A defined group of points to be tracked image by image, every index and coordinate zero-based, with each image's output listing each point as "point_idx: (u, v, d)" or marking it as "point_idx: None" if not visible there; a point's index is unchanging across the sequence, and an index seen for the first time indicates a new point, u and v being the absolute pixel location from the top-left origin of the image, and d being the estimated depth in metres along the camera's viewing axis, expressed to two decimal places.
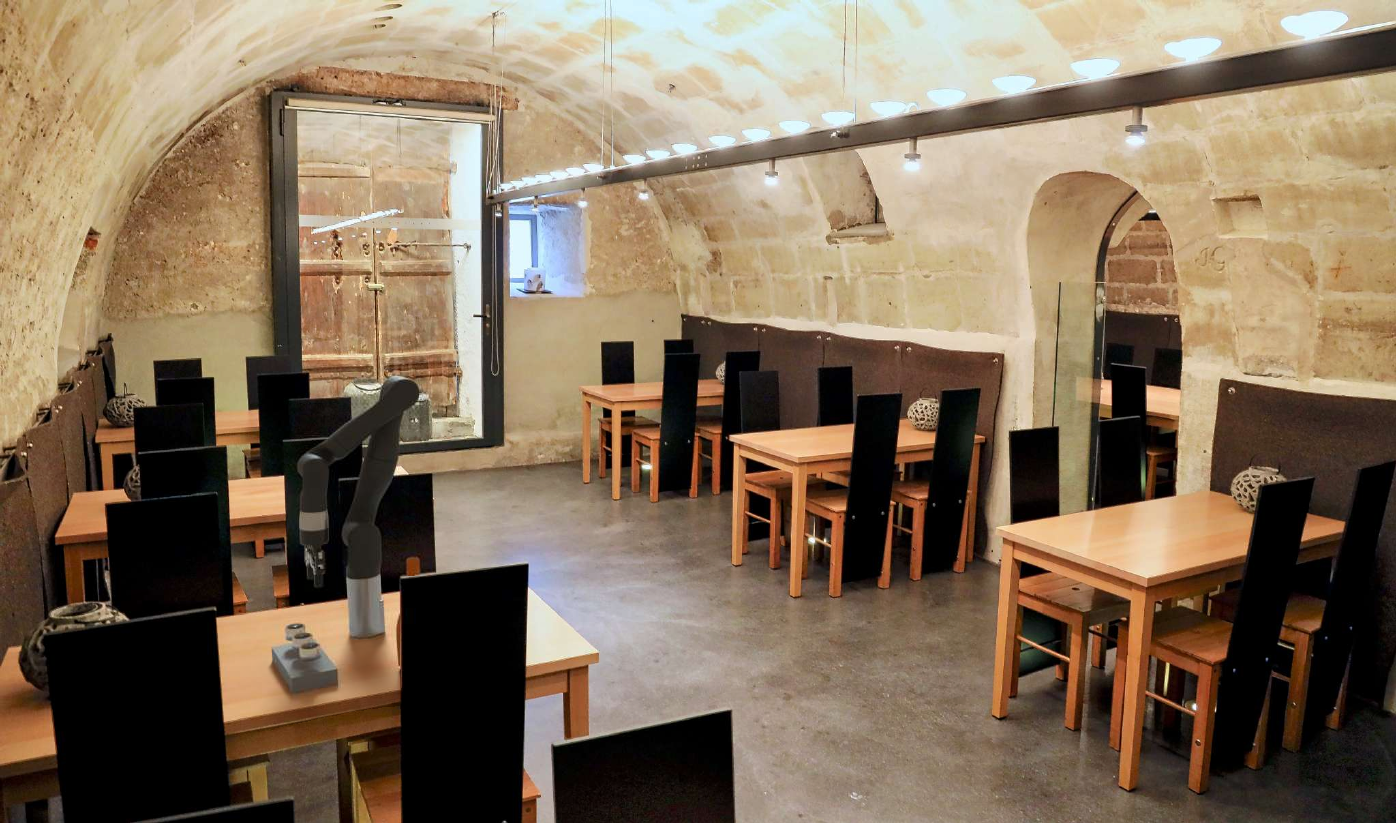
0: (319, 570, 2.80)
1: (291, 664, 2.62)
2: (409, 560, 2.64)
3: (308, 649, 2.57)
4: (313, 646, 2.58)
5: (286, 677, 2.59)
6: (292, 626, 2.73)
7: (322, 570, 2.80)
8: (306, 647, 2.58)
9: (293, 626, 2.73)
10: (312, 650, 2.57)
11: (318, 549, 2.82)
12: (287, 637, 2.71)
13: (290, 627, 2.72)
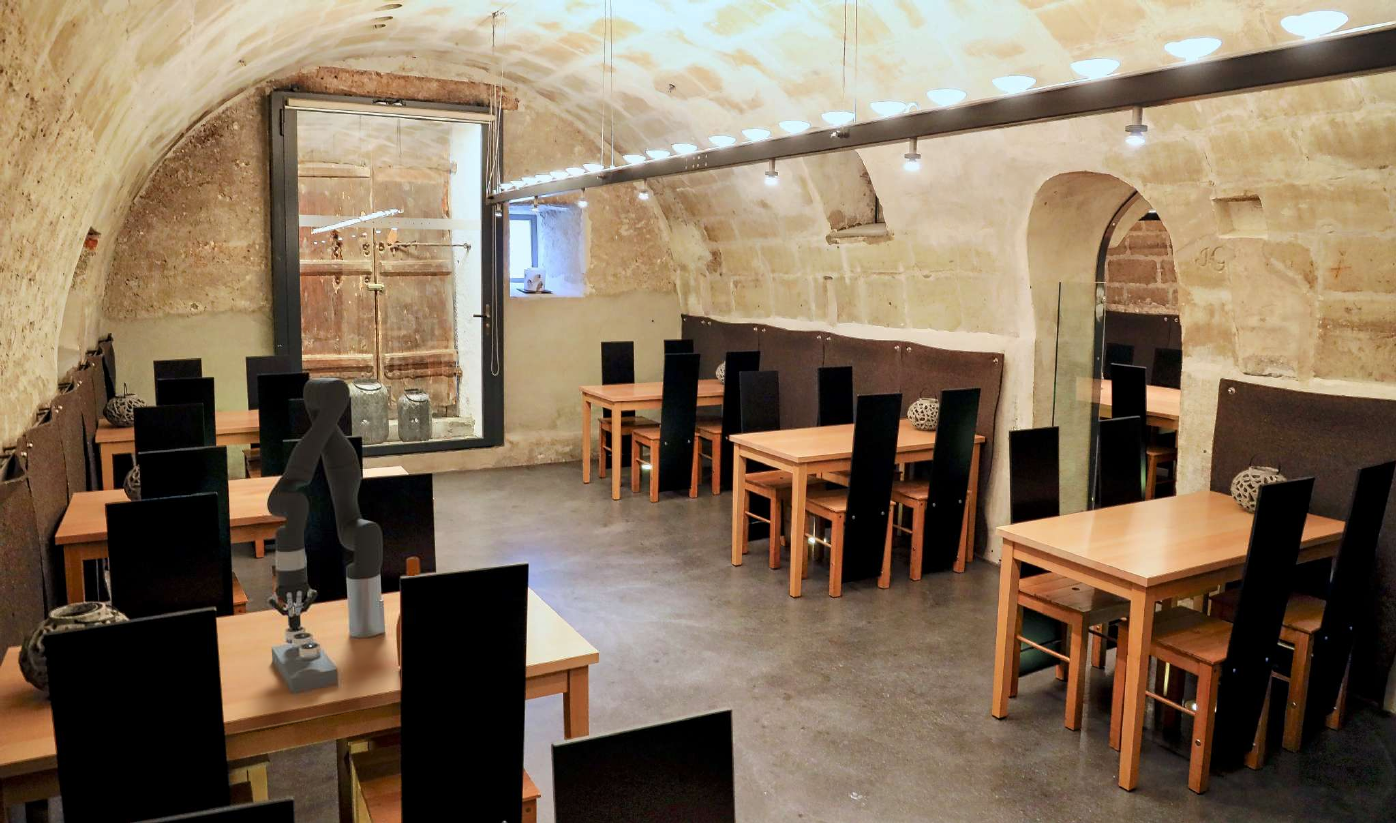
0: None
1: (291, 664, 2.62)
2: (409, 560, 2.64)
3: (308, 649, 2.57)
4: (313, 646, 2.58)
5: (286, 677, 2.59)
6: None
7: None
8: (306, 647, 2.58)
9: None
10: (312, 650, 2.57)
11: (308, 586, 2.74)
12: (287, 640, 2.71)
13: (291, 630, 2.72)
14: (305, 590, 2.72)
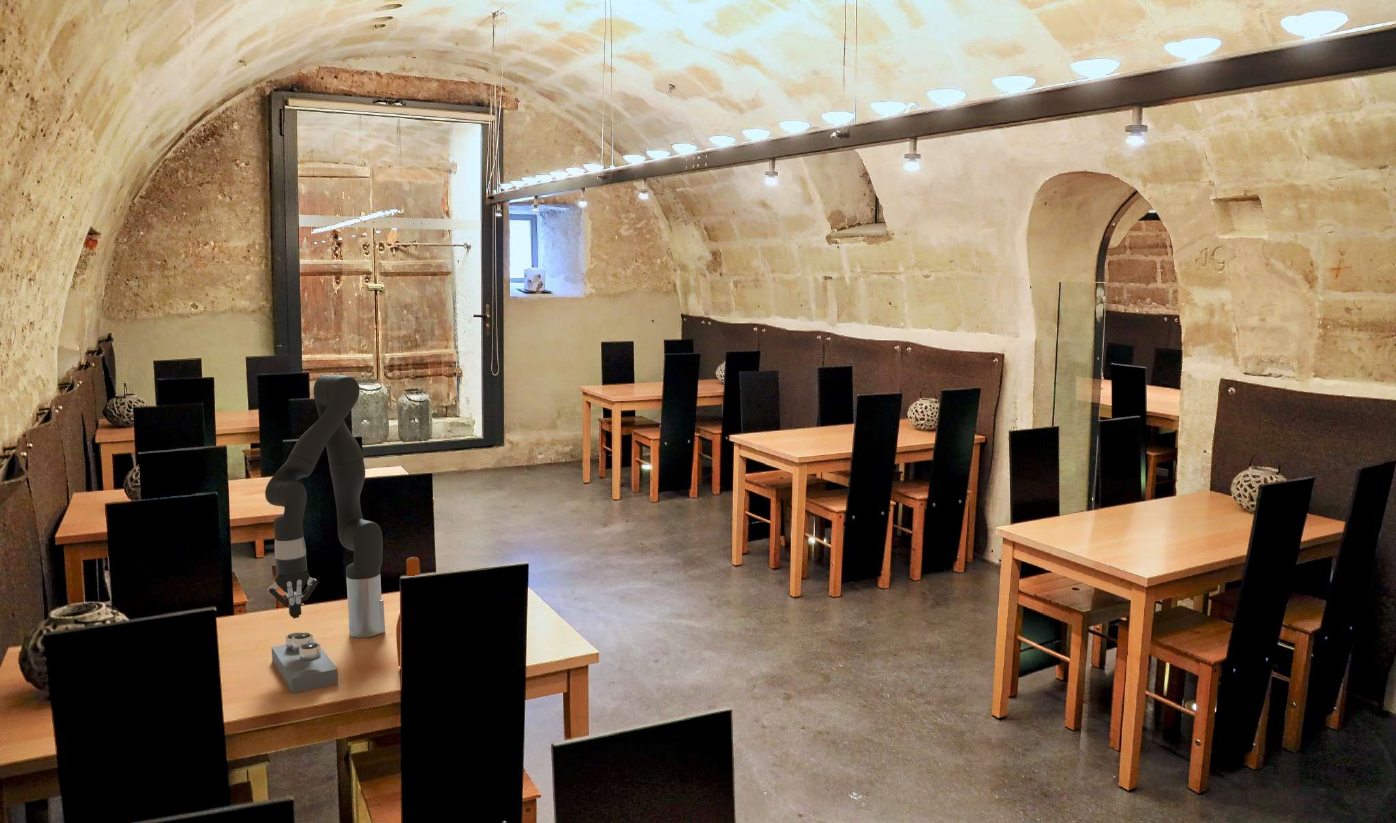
0: None
1: (291, 664, 2.62)
2: (409, 560, 2.64)
3: (308, 649, 2.57)
4: (313, 646, 2.58)
5: (286, 677, 2.59)
6: (293, 635, 2.73)
7: None
8: (306, 647, 2.58)
9: None
10: (312, 650, 2.57)
11: None
12: (288, 646, 2.72)
13: (291, 637, 2.72)
14: (305, 579, 2.72)
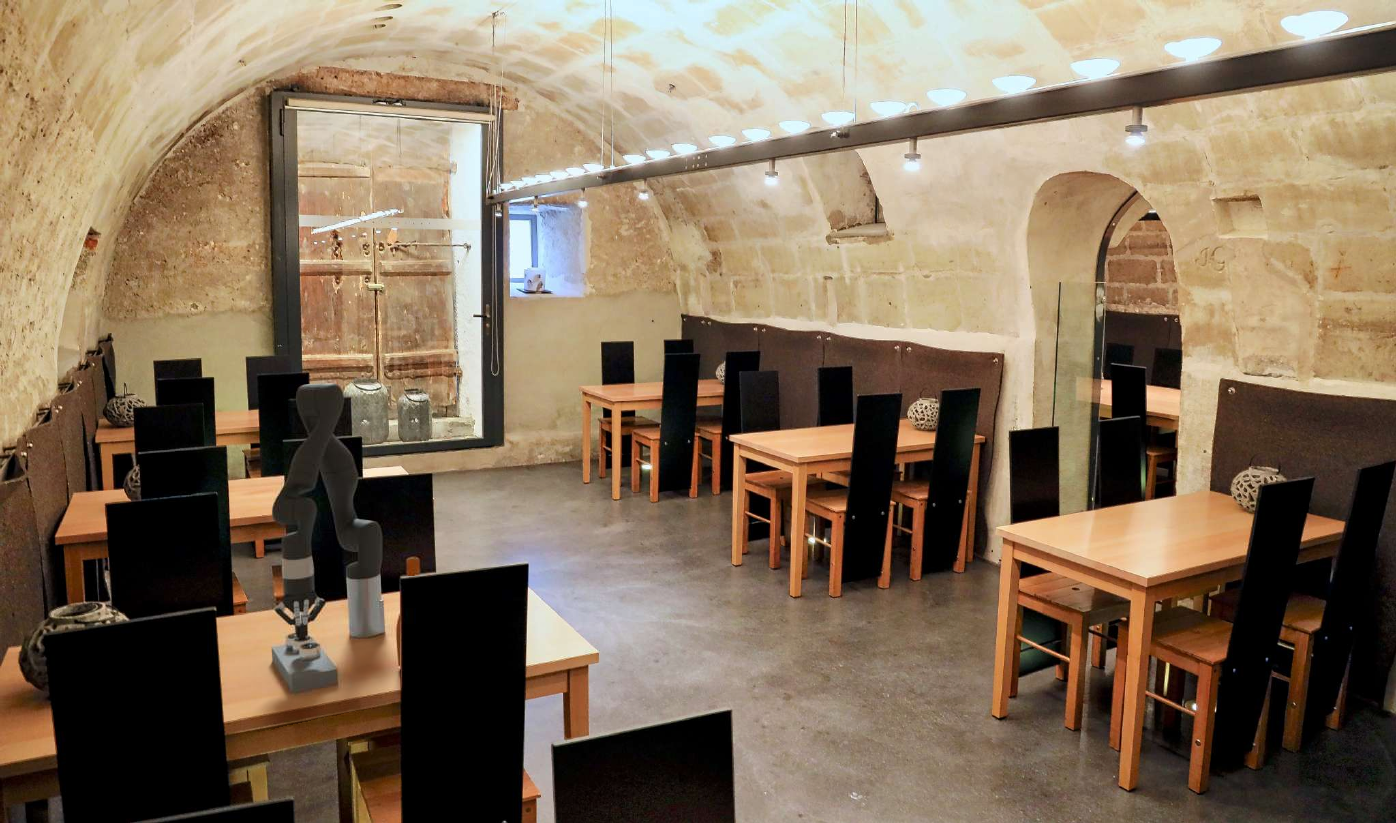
0: None
1: (291, 664, 2.62)
2: (409, 560, 2.64)
3: (308, 649, 2.57)
4: (313, 646, 2.58)
5: (286, 677, 2.59)
6: (293, 635, 2.73)
7: None
8: (306, 647, 2.58)
9: (294, 635, 2.73)
10: (312, 650, 2.57)
11: None
12: (288, 646, 2.72)
13: (291, 637, 2.72)
14: (312, 599, 2.65)
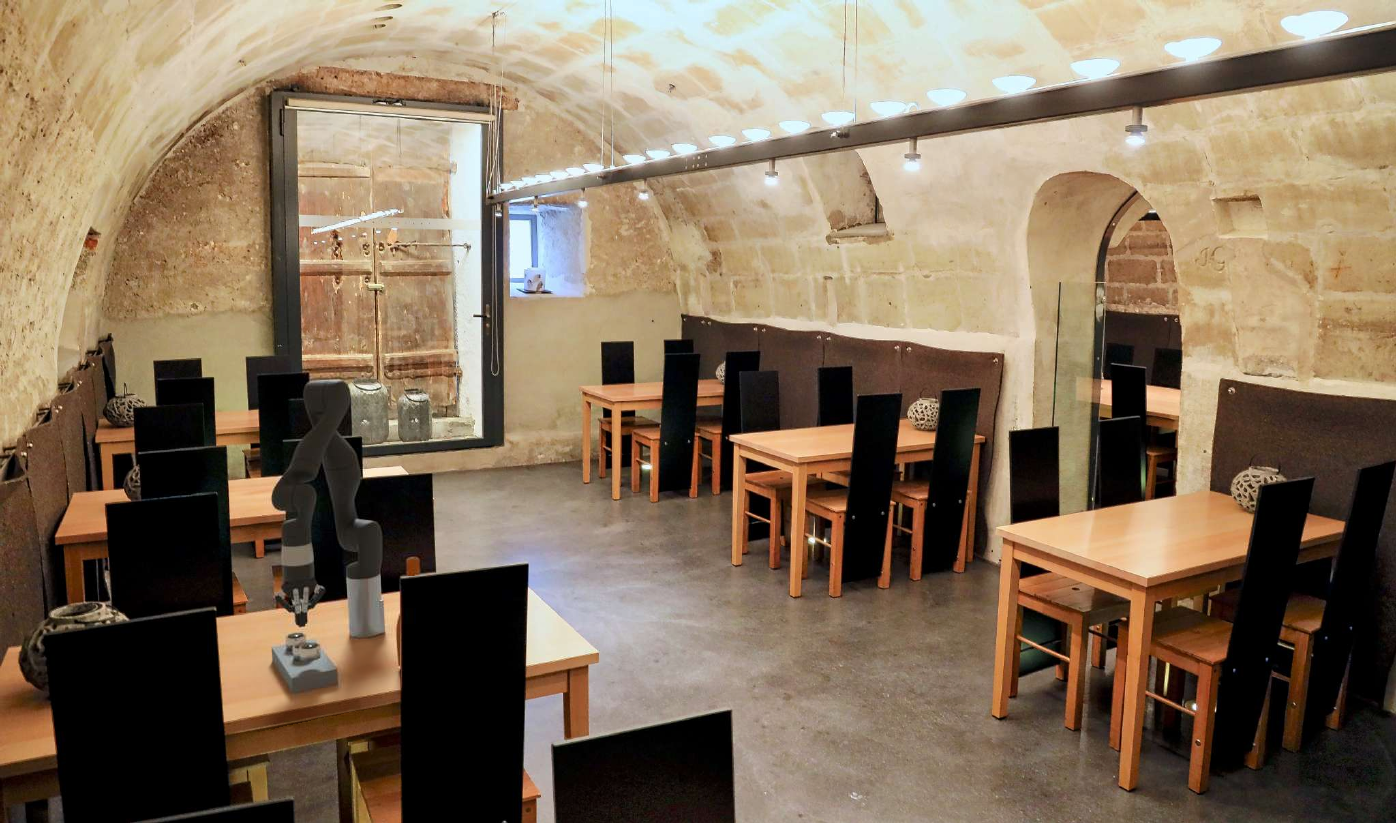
0: None
1: (291, 664, 2.62)
2: (409, 560, 2.64)
3: (308, 649, 2.57)
4: (313, 646, 2.58)
5: (286, 677, 2.59)
6: (293, 635, 2.73)
7: None
8: (306, 647, 2.58)
9: (294, 635, 2.73)
10: (312, 650, 2.57)
11: (315, 582, 2.65)
12: (288, 646, 2.72)
13: (291, 637, 2.72)
14: (312, 586, 2.63)
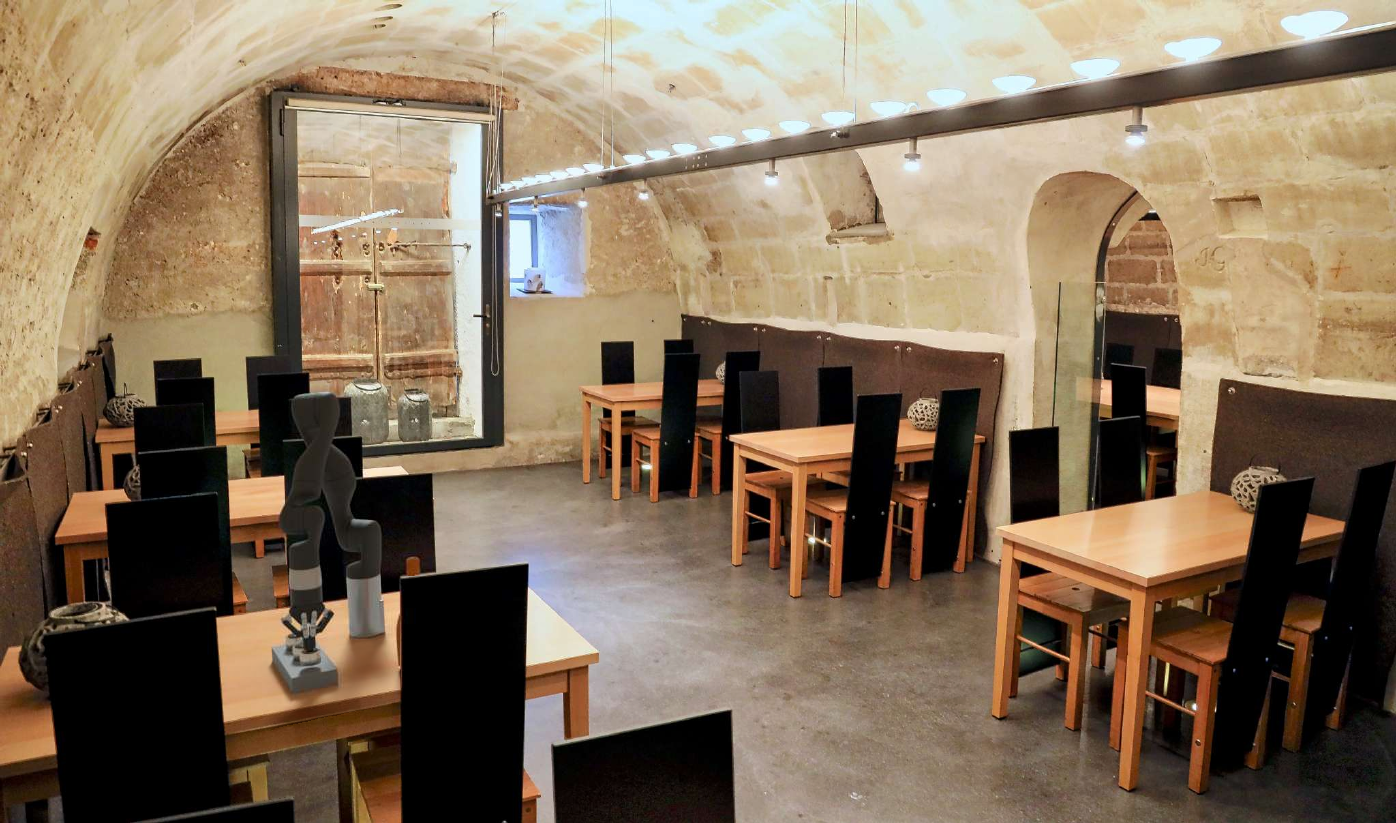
0: None
1: (291, 664, 2.62)
2: (409, 560, 2.64)
3: (308, 653, 2.57)
4: (313, 651, 2.59)
5: (286, 677, 2.59)
6: (293, 635, 2.73)
7: None
8: (306, 652, 2.58)
9: (294, 635, 2.73)
10: (312, 655, 2.57)
11: None
12: (288, 646, 2.72)
13: (291, 637, 2.72)
14: (320, 610, 2.58)
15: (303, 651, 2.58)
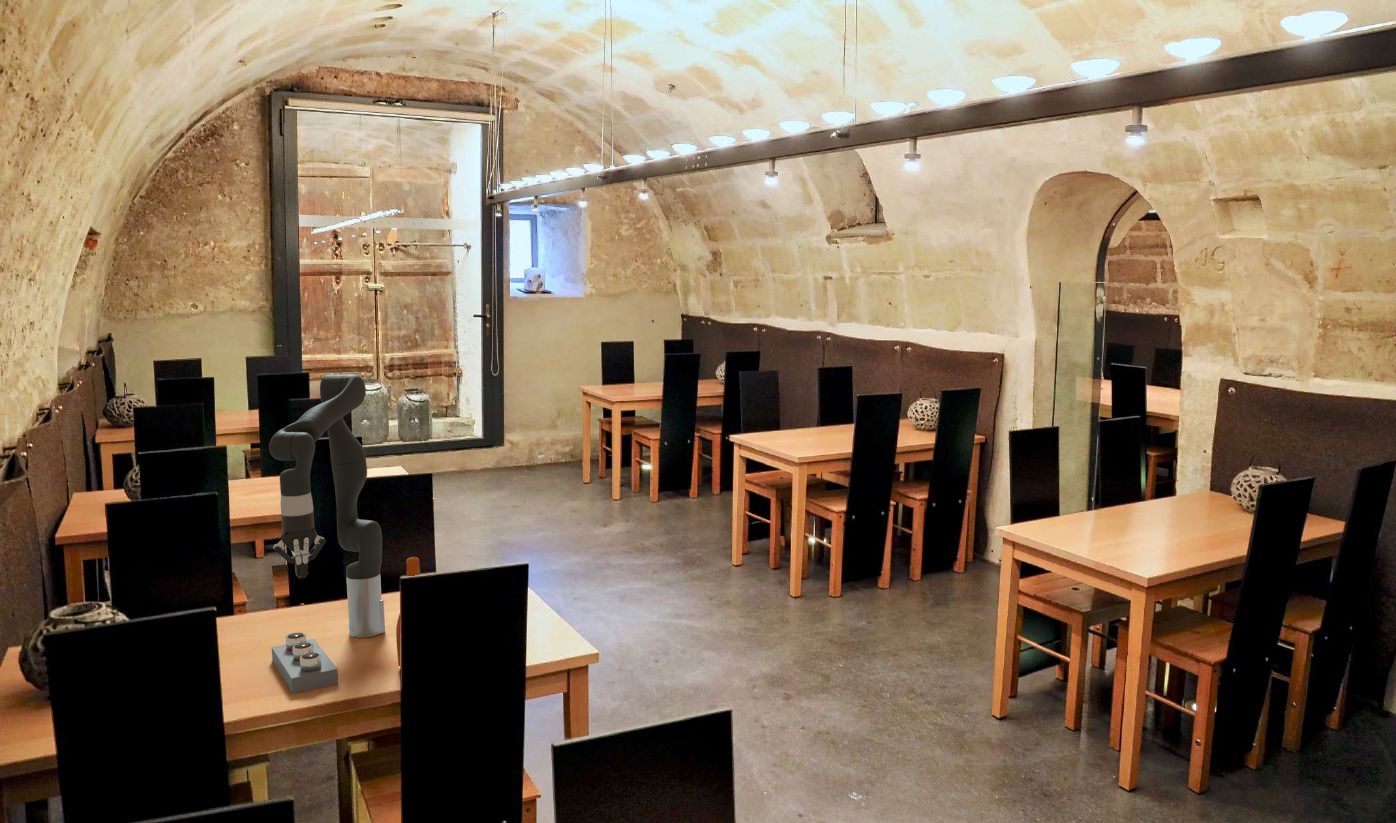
0: None
1: (291, 664, 2.62)
2: (409, 560, 2.64)
3: (308, 659, 2.58)
4: (314, 656, 2.59)
5: (286, 677, 2.59)
6: (293, 635, 2.73)
7: None
8: (307, 657, 2.58)
9: (294, 635, 2.73)
10: (313, 660, 2.57)
11: None
12: (288, 646, 2.72)
13: (291, 637, 2.72)
14: (312, 537, 2.59)
15: (303, 656, 2.59)
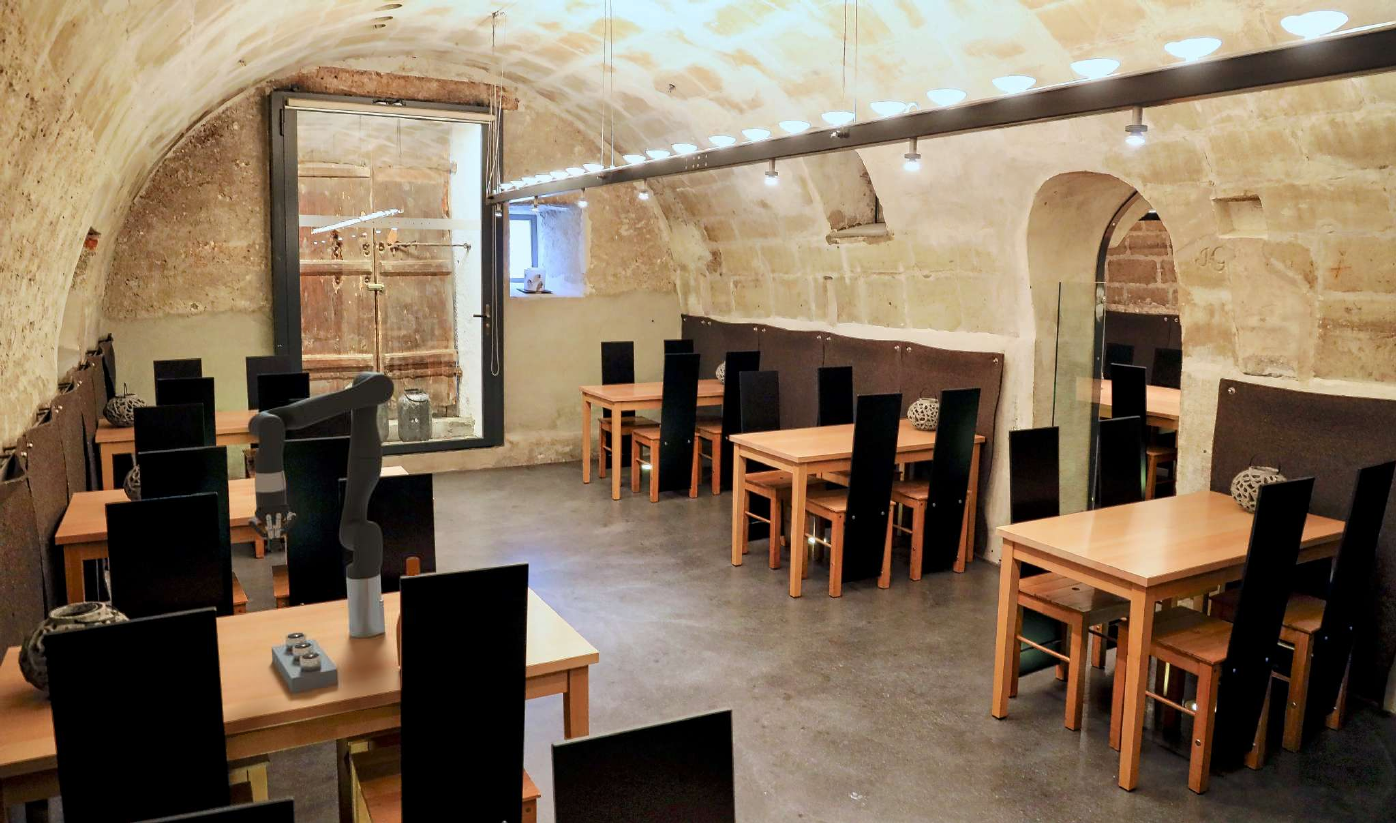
0: None
1: (291, 664, 2.62)
2: (409, 560, 2.64)
3: (308, 659, 2.58)
4: (314, 656, 2.59)
5: (286, 677, 2.59)
6: (293, 635, 2.73)
7: None
8: (307, 657, 2.58)
9: (294, 635, 2.73)
10: (313, 660, 2.57)
11: None
12: (288, 646, 2.72)
13: (291, 637, 2.72)
14: (284, 513, 2.75)
15: (303, 656, 2.59)
